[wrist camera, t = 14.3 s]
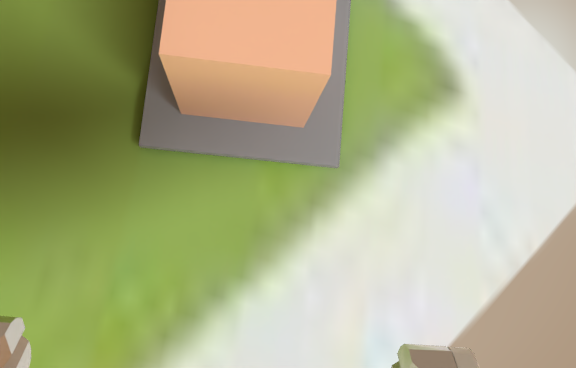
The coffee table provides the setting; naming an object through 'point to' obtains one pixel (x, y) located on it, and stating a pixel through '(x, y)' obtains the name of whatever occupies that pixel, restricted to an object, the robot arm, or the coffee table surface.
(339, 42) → the mat
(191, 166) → the coffee table surface
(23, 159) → the coffee table surface
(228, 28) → the peach foam cube
